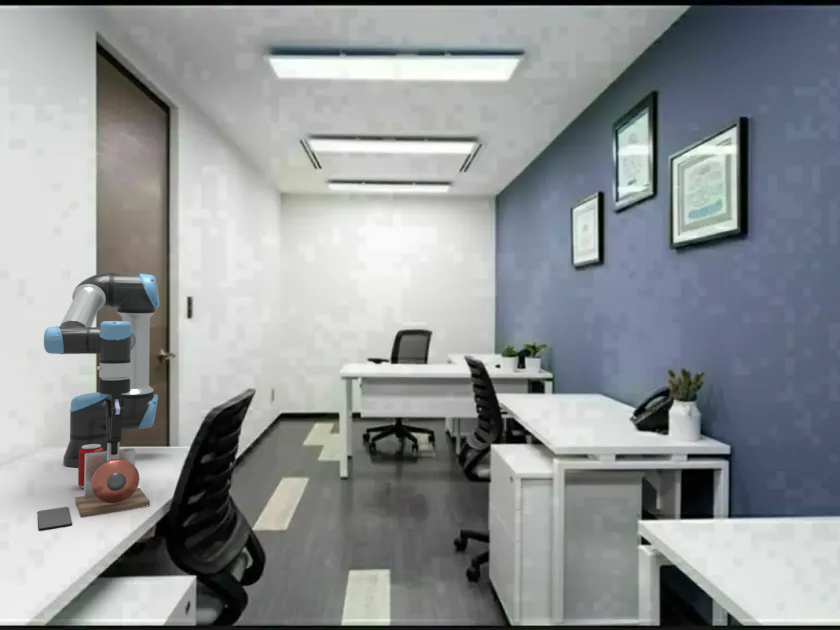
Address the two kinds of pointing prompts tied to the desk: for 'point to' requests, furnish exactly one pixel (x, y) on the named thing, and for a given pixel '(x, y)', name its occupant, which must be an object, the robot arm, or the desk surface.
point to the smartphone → (54, 518)
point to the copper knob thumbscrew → (115, 481)
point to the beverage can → (81, 466)
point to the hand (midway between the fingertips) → (113, 465)
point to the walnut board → (110, 504)
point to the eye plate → (95, 462)
